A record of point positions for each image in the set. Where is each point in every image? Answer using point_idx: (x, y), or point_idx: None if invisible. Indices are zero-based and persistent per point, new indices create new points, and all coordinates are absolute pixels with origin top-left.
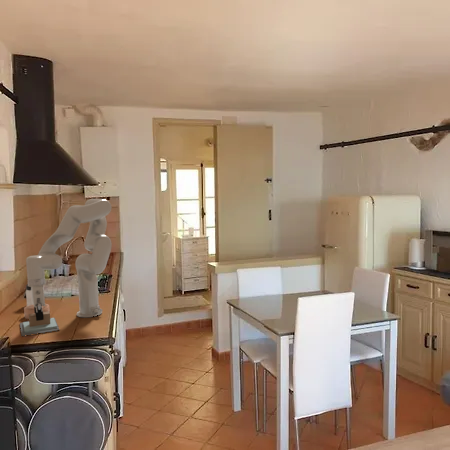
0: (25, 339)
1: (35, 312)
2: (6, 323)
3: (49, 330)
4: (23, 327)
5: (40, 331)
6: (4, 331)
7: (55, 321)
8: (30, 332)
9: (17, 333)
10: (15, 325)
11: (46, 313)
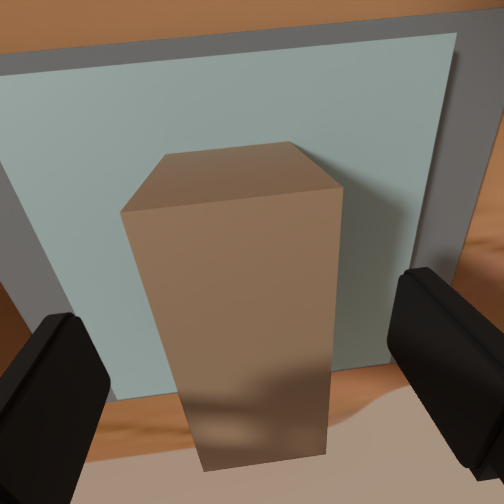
0: (499, 323)
1: (97, 413)
2: None
3: (463, 148)
4: None
5: (429, 238)
6: None
7: (94, 57)
8: None
9: None
10: (109, 414)
11: (299, 258)
